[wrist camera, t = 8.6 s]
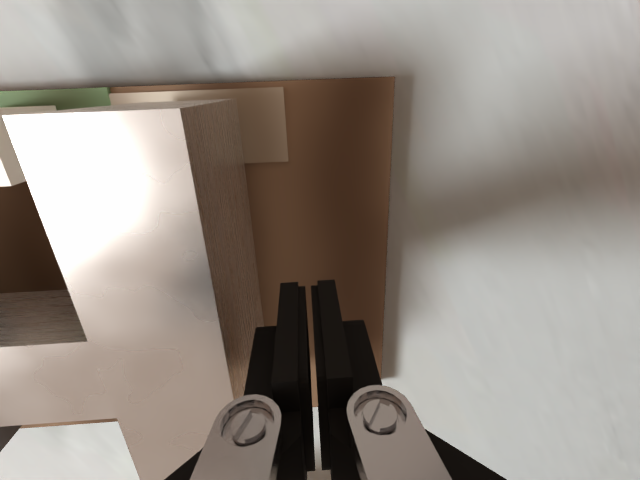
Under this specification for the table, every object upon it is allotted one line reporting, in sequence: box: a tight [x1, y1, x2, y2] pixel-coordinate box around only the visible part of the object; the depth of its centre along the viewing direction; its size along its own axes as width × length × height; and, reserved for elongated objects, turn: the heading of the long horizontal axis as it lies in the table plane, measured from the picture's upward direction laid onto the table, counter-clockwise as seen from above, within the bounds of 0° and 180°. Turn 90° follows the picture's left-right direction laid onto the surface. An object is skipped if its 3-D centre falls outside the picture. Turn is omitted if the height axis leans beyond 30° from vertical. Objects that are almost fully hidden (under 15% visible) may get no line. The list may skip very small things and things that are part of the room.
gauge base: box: [0, 77, 395, 451], centre depth 12 cm, size 28×16×10 cm, turn 92°
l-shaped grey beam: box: [0, 99, 264, 480], centre depth 11 cm, size 14×12×6 cm
